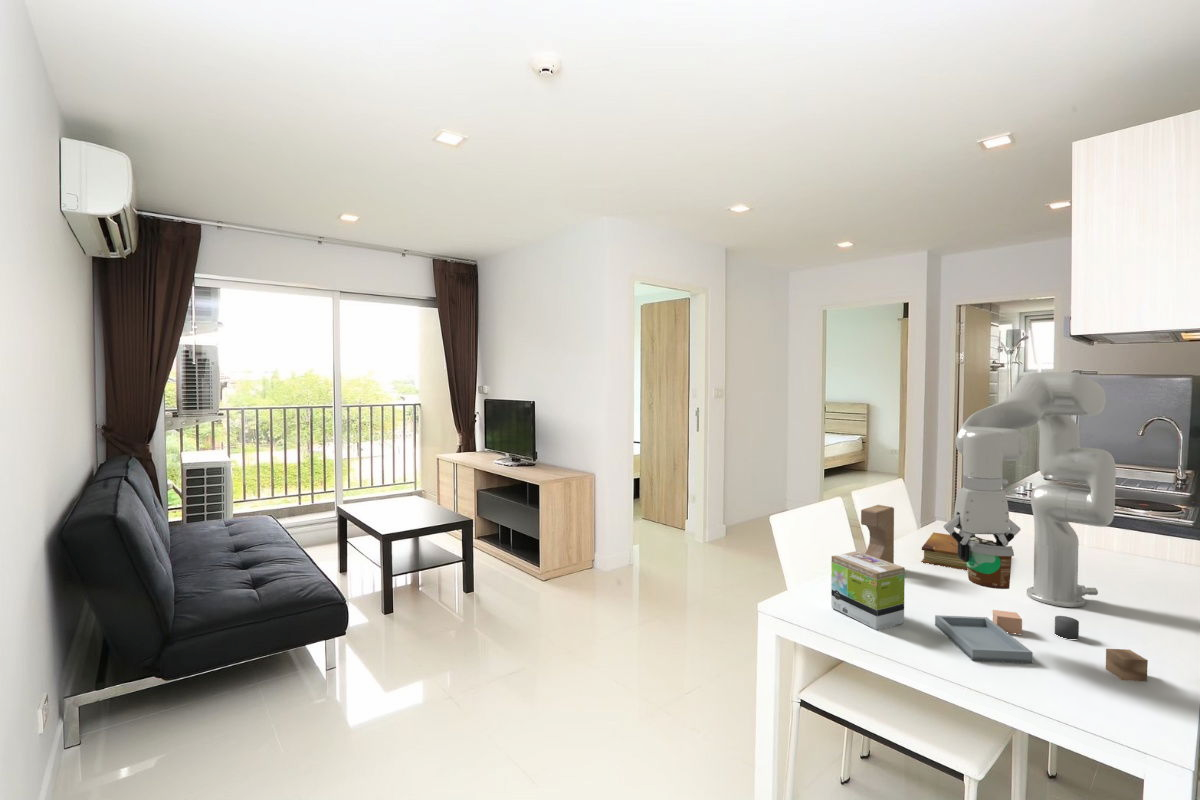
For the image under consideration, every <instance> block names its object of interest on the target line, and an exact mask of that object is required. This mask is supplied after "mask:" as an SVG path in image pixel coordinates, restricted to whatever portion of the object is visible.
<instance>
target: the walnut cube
mask: <svg viewBox="0 0 1200 800" xmlns="http://www.w3.org/2000/svg"><path fill="white" fill-rule="evenodd" d="M1105 670H1106V671H1107V672H1109V673H1110V674H1112V675H1113V676H1115V677H1117V678H1118V679H1120V680H1121V681H1126V682H1127V681H1129V682H1148V659H1146V658H1145V657H1143V656H1141V655H1140V654H1139V653H1136V652H1135V651H1133V650H1131V649H1125V648H1123V649H1120V648H1105Z"/></svg>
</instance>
